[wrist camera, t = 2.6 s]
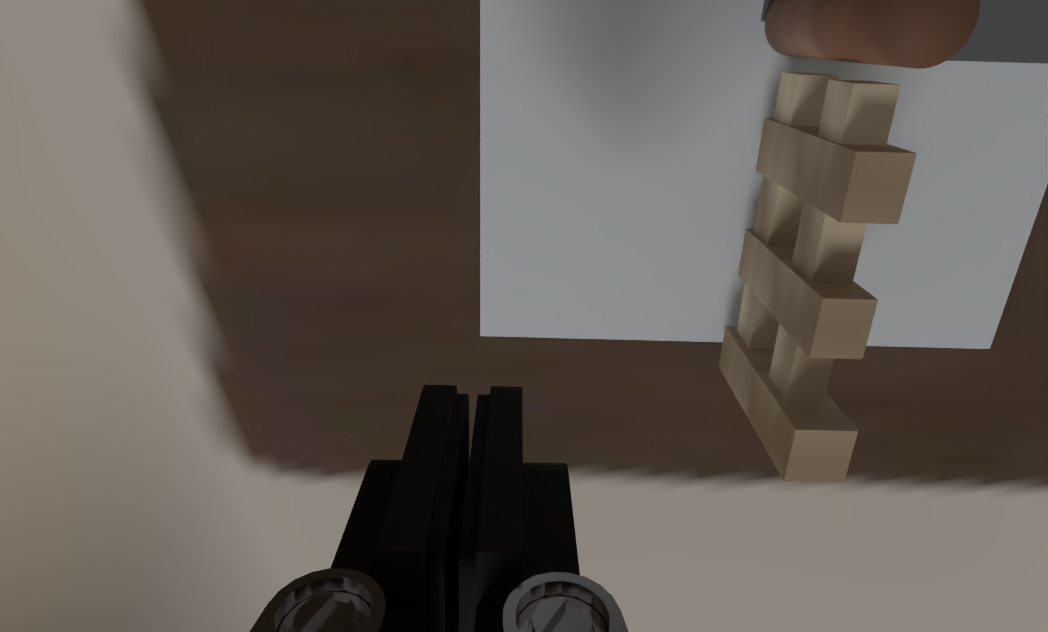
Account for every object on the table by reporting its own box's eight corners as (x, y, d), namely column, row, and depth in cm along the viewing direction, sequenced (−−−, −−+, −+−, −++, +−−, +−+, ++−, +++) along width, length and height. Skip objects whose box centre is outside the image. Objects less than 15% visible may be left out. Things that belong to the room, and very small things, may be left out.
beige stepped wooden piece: (770, -15, 14) (895, -37, 9) (835, -13, 14) (992, -34, 9) (711, 359, 18) (778, 480, 13) (762, 361, 18) (848, 482, 13)
